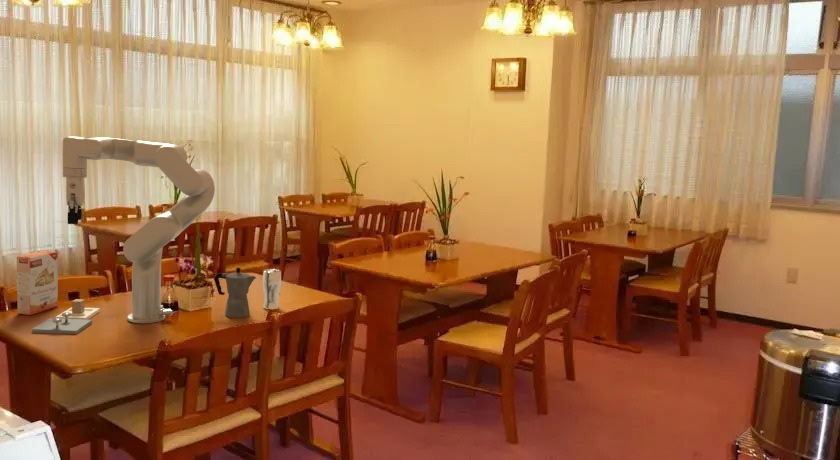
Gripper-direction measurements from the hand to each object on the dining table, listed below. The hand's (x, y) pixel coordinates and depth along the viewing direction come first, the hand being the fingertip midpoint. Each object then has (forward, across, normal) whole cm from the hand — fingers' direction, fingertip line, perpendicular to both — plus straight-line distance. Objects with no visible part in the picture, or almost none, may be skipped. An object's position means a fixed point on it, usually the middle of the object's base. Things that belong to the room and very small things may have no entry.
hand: (74, 221), depth 246 cm
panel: (+34, 0, -1) cm, 34 cm away
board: (+34, -14, +2) cm, 37 cm away
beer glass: (+33, +3, -69) cm, 77 cm away
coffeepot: (+33, -5, -55) cm, 64 cm away
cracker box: (+34, +10, +13) cm, 38 cm away
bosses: (+33, -14, +2) cm, 36 cm away
